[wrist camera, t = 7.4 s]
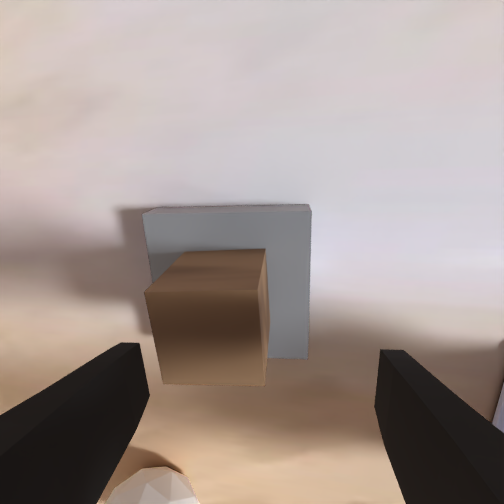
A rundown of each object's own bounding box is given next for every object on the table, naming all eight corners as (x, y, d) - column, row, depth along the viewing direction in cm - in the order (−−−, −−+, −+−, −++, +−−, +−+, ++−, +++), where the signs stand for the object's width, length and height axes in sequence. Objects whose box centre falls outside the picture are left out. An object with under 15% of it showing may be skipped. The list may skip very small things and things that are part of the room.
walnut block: (270, 321, 17) (264, 386, 13) (195, 322, 18) (163, 384, 13) (265, 248, 16) (257, 289, 11) (184, 251, 16) (143, 292, 12)
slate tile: (305, 339, 20) (307, 359, 18) (175, 335, 21) (164, 354, 19) (308, 204, 17) (311, 211, 15) (156, 207, 18) (141, 214, 16)
